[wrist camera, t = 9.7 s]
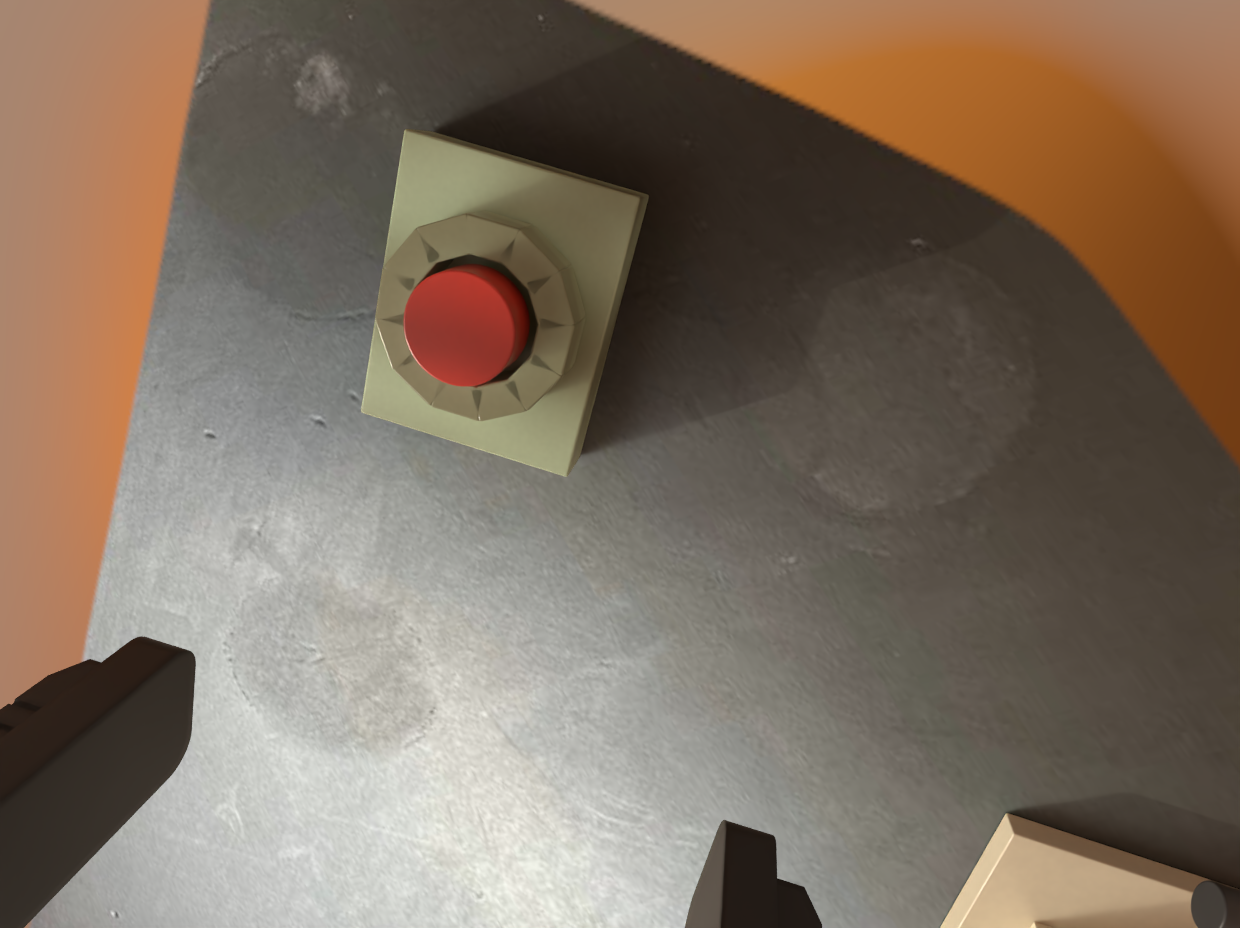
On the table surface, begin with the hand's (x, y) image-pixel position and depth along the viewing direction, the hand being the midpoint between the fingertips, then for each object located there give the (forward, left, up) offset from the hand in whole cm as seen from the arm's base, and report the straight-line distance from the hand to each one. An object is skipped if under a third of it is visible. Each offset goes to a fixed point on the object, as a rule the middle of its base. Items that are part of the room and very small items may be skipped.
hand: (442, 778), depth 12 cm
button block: (+4, -4, -20) cm, 21 cm away
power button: (+4, -4, -17) cm, 18 cm away
